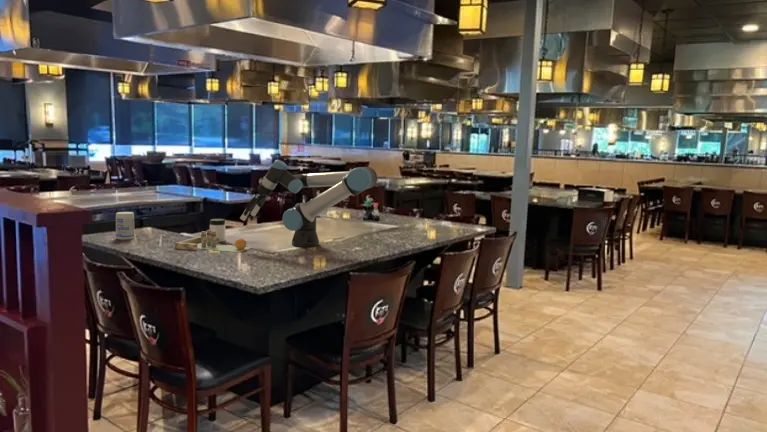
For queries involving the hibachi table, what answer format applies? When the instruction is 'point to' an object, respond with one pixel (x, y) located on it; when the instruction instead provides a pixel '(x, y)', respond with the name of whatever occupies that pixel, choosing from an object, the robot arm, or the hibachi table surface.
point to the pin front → (213, 238)
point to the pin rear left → (203, 238)
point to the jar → (218, 228)
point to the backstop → (191, 243)
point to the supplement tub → (124, 225)
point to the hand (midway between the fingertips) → (247, 217)
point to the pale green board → (222, 248)
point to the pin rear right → (208, 237)
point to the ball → (240, 243)
